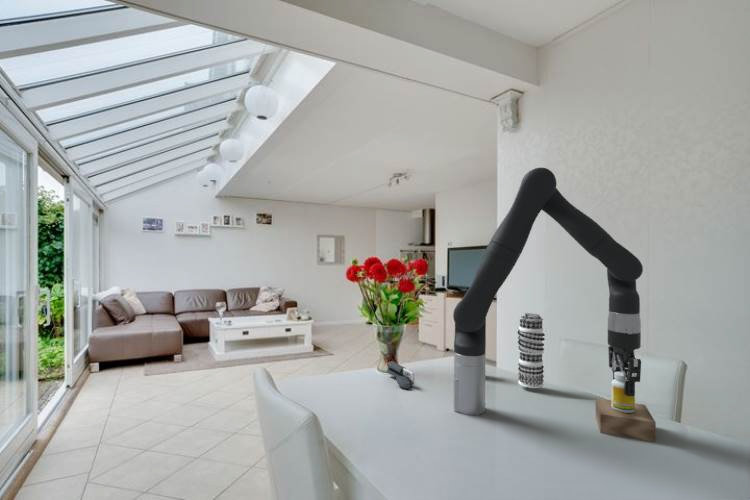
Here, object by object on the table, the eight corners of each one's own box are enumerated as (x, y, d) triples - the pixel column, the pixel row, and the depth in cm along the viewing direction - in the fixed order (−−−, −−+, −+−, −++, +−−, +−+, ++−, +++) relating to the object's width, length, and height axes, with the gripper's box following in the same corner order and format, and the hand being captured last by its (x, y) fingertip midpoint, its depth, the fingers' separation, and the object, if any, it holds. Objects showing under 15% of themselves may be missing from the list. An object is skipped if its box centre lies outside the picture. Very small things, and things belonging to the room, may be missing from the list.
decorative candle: (516, 386, 139) (516, 315, 139) (517, 378, 148) (517, 311, 148) (544, 390, 136) (545, 317, 136) (544, 381, 145) (544, 313, 144)
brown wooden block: (600, 437, 103) (600, 414, 103) (595, 418, 114) (595, 398, 114) (655, 446, 99) (655, 422, 99) (645, 426, 110) (645, 404, 110)
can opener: (419, 387, 139) (419, 373, 139) (402, 390, 137) (402, 375, 137) (396, 371, 157) (396, 358, 157) (381, 373, 155) (381, 360, 154)
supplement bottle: (607, 404, 110) (607, 370, 110) (629, 405, 109) (628, 371, 109) (616, 412, 104) (616, 376, 104) (638, 414, 103) (638, 377, 103)
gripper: (598, 323, 114) (598, 381, 114) (620, 334, 100) (620, 400, 100) (626, 324, 113) (626, 382, 113) (653, 335, 98) (652, 402, 99)
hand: (623, 390), depth 106 cm, fingers open, 6 cm apart
